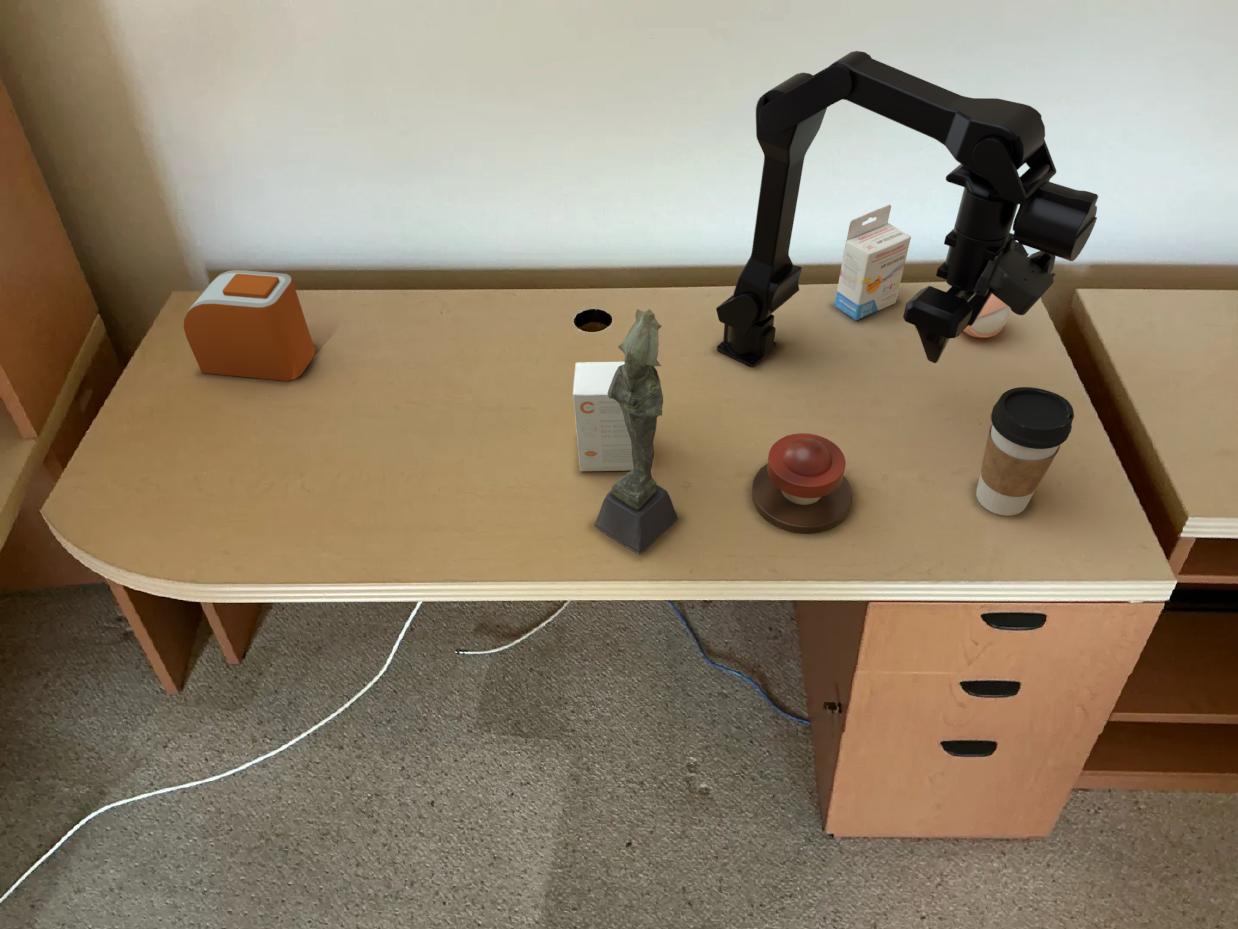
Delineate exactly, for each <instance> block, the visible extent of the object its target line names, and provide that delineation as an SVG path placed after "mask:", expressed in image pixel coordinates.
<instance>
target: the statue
mask: <svg viewBox="0 0 1238 929" xmlns="http://www.w3.org/2000/svg"><path fill="white" fill-rule="evenodd" d="M634 317H635V322H634V323H633V325H632V326H631V327H630V329H629V331H628V333H627V334H626V336H625V338H624V339H623V341H622V342H621V343H620V344H619V345H618V346H617V348H618V349H620V351H621V352H622V353H623V354H624V361H623V362H625V364H624V365H621V366H619V367H618V368H617V370H616V372H615V374H614V377H613V379H612V382H611V384H610V387H609V390H608V393H607V394H608V396H609V398H612V399H614V400H616V401H617V402H618V403H619V404H620V407H621V409H622V412H623V416H624V420H625V424H626V427H627V430H628V433H629V436H630V439H631V445H632V459H633V469H632V470H631V471H629V472H627V473H625V475H623V476H621V477H620V478H619V479H618V480H616V482H615V483H614V484H613V485H612V487H611V490H610V491H609V492H608V493H607V494H606V495H605V497H604V499H603V501H602V503H601V506H600V509H599V512H598V515H597V518H596V520H595V523H594V527H595V528H596V529H597V530H599V531H600V532H602V534H605V535H606V536H608V537H609V538H611V539H612V540H614V541H616V542H618V543H619V544H620V545H622V546H623V547H625V548H627V549H628V550H631V551H632V552H634V553H635V554H637V555H641V554H642V553H644V552H645V551H646V550H647V549H649V548H650V547H651V546H652V544H654V543H655V542H656V541H657V540H658V539H660V537H661V536H663V535H664V533H665V532H667V531H668V530H669V529H670V528H671V527H672V526H673V525H674V524H675V523H676V521H677V520H678V518H679V517H678V515H677V511H676V509H675V507H674V504H673V501H672V499H671V497H670V494H669V491H668V490H666V489H664V487H662V486H660V485H658V484H657V481H656V479H654V478H653V476H652V466H653V462H654V458H655V449H654V439H655V435H656V431H657V423H658V417H660V416H663V405H664V393H663V390H662V385H661V378H660V376H659V373H658V370H657V368H656V367H662V364H661V363H660V362H659V361H658V355H659V330H660V328H662V325H661V324H660V323H659V322H658V319H656V314H655V313H654V312H653V311H652V310H651V309H650V308H648V309H647V310H646V311H643V310H641V309H638V308H637V309H636V311H635V316H634Z"/></svg>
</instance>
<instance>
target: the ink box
mask: <svg viewBox="0 0 1238 929" xmlns="http://www.w3.org/2000/svg"><path fill="white" fill-rule="evenodd" d="M891 210H892V205H891V204H887V205H885V206H883V207H880V208H877V209H874V210H872V211H870V212H867V213H865V214H862V215H860V216H858V217H855V218H853V219H851V220H850V221H849V225H848V230H847V236H846V239H845V242H844V249H843V255H842V261H841V267H840V272H839V277H838V283H837V290H836V296H835V302H834V307H835V308H837V309H838V310H840V312H843V313H844V314H846V315H847V316H848V317H850V318H852V319H853V320H854V321H859V320H861V319H863V318H865V317H867V316H870V315H871V314H874V313H877V312H879V311H881V310H883V309H886V308H888V307H890V306H893V305H894V304H896V303H897V300H898V295H899V291H900V287H901V282H902V277H903V274H904V269H905V264H906V261H907V256H908V251H909V247H910V243H911V239H912V236H911V235H909V234H908V233H906V232H904V231H903V230H901V229H899V228H898V227H896V226H894V225H893V224H892V223H890V222H889V219H890V213H891ZM870 218H871V219H874V218H875V219H874V220H873V221H870V222H867V221H868V220H869V219H870ZM864 222H865V224H863V223H864ZM866 222H867V223H866Z"/></svg>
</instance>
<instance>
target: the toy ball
mask: <svg viewBox="0 0 1238 929" xmlns="http://www.w3.org/2000/svg"><path fill="white" fill-rule="evenodd" d="M1010 313H1011V308H1010V307H1009V306H1007V305H1006V304H1005V303H1004V302H1002V301H1001V300H1000V299H998V298H997V297H996V296H994V295H993V294H992V295H991V296H990V298H989V299H988V301H987V303H986V304H985V306H984V307H983V309H982V311H981V312H980V314H979V315H978V317H977V319H976V320H975V322H974V324H973V325H972V326H969V325H968V326H967V327H966V328H965V329H964V330H963V331H962V332H964V333H965V334H966V335H969V336H971V337H974V338H979V339H983V338H990V337H995V336H996V335H997V334H999V333H1000V332H1001V331H1002V330H1003V328H1004V326H1005V325H1006V324H1007V322H1008V320H1009V317H1010Z"/></svg>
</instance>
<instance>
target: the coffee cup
mask: <svg viewBox="0 0 1238 929" xmlns="http://www.w3.org/2000/svg"><path fill="white" fill-rule="evenodd" d="M1074 418H1075V412H1074V408H1073V406H1072V404H1071V402H1070V401H1068V399H1066V398H1065V397H1064V396H1062V395H1060V394H1058V393H1055V392H1053V391H1051V390H1047V389H1043V388H1038V387H1031V386H1019V387H1014V388H1010V389H1008V390H1006V391H1005V392H1003V393H1002V394H1001V395H1000V397H999V398H998V400H997V401H996V402H995V404H994V405H993V407H992V411H991V413H990V421H991V424H990V427H989V430H988V434H987V439H986V443H985V449H984V453H983V459H982V464H981V467H980V474H979V478H978V483H977V487H976V491H975V495H976V499H977V501H978V503H979V504H980V505H981V506H982V507H983V508H984V509H985V510H987V511H988V512H990V513H992V514H995V515H998V516H1006V517H1009V516H1015V515H1018V514H1021V513H1022V512H1023V511H1025V509H1026V508H1027V506H1028V504H1029V503H1030V501H1031V499H1032V497H1033V495H1034V494H1035V492H1036V490H1037V489H1038V486H1039V485H1040V483H1041V481H1042V480H1043V478H1044V476H1045V475H1046V473H1047V472H1048V469H1049V468H1050V466H1051V465H1052V463H1053V462H1054V459H1055V458H1056V456H1057V455H1058V453H1059V451H1060V448H1061V445H1062V444H1064V442H1066V441H1067V440H1068V438H1069V436H1070V434H1071V432H1072V428H1073V425H1072V424H1073V421H1074Z"/></svg>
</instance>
